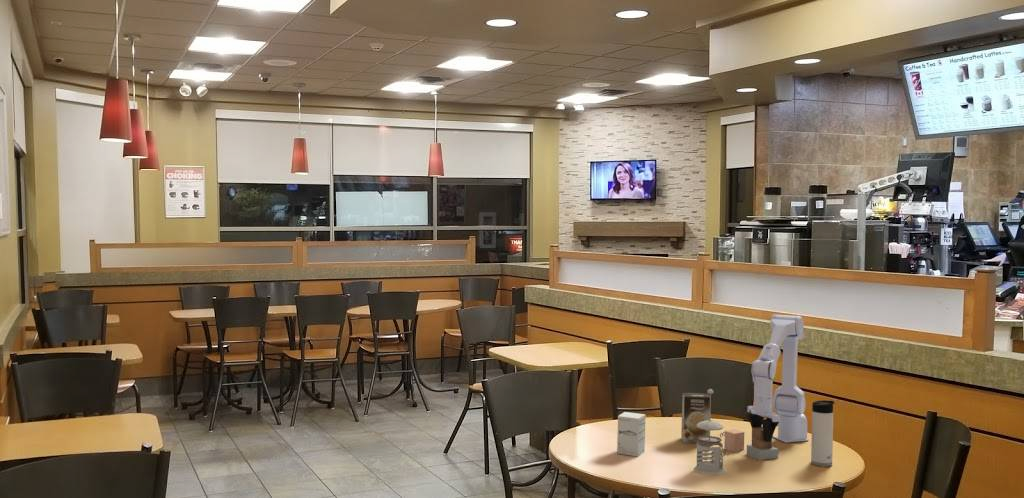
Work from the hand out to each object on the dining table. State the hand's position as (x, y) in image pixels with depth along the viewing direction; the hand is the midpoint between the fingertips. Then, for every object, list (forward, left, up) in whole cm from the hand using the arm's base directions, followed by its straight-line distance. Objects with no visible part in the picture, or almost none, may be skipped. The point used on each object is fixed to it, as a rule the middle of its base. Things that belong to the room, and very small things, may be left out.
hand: (762, 438), depth 274 cm
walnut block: (0, 0, -3) cm, 3 cm away
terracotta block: (+4, -10, -6) cm, 12 cm away
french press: (+24, +9, -6) cm, 26 cm away
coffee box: (+11, -23, -6) cm, 26 cm away
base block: (0, 0, -6) cm, 6 cm away
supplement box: (+39, -16, -6) cm, 43 cm away
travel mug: (-13, +13, -6) cm, 19 cm away
